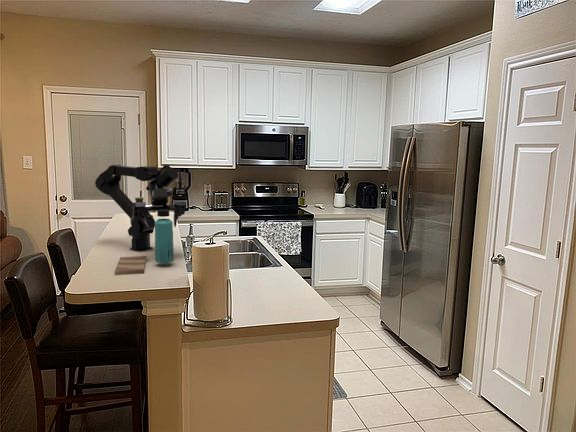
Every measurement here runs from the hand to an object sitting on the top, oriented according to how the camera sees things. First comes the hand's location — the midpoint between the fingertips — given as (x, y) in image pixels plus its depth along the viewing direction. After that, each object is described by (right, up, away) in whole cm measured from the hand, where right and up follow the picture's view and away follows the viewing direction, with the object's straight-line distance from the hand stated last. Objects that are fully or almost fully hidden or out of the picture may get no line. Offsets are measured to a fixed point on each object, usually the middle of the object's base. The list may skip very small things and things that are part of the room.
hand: (162, 227), depth 154 cm
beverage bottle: (+2, -14, -3) cm, 14 cm away
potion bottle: (-23, -6, +41) cm, 47 cm away
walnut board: (-9, -14, -6) cm, 17 cm away
